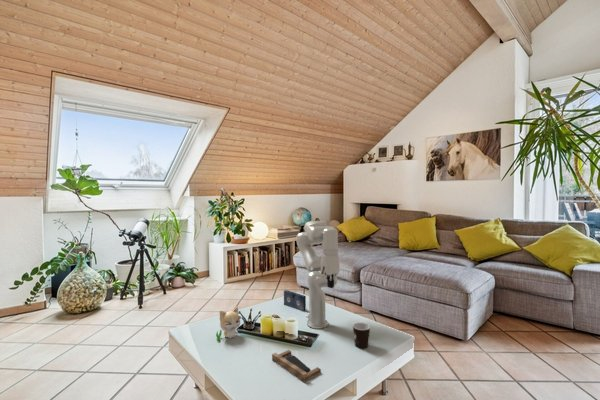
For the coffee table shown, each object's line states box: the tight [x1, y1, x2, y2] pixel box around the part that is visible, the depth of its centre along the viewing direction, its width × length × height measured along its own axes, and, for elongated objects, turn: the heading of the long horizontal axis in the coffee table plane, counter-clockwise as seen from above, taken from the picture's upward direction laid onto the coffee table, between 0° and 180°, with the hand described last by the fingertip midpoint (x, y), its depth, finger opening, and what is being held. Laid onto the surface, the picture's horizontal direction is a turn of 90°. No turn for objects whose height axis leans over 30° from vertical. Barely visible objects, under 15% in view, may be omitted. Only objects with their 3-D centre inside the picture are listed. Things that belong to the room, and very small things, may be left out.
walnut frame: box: [271, 349, 322, 383], centre depth 139 cm, size 22×10×3 cm, turn 42°
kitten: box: [215, 306, 241, 341], centre depth 168 cm, size 15×10×15 cm
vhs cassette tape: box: [283, 289, 307, 312], centre depth 209 cm, size 18×3×10 cm, turn 46°
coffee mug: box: [352, 322, 371, 350], centre depth 159 cm, size 12×9×10 cm
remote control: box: [285, 355, 311, 373], centre depth 140 cm, size 5×2×15 cm
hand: (330, 287), depth 160 cm, fingers closed
